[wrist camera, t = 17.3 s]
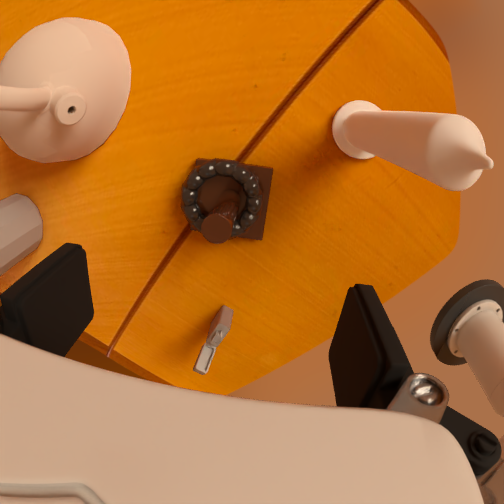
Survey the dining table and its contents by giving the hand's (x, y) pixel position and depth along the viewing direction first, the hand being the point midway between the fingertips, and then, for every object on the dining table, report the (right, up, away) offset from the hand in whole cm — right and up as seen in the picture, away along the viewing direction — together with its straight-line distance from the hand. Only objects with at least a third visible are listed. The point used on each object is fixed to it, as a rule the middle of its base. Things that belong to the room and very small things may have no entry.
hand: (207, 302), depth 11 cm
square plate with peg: (-1, +8, +28) cm, 29 cm away
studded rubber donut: (-2, +8, +26) cm, 28 cm away
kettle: (-23, +24, +23) cm, 40 cm away
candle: (+14, +16, +24) cm, 32 cm away
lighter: (-4, -9, +36) cm, 37 cm away
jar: (-35, +7, +31) cm, 47 cm away
